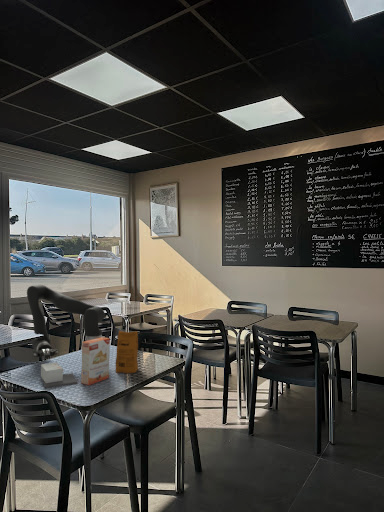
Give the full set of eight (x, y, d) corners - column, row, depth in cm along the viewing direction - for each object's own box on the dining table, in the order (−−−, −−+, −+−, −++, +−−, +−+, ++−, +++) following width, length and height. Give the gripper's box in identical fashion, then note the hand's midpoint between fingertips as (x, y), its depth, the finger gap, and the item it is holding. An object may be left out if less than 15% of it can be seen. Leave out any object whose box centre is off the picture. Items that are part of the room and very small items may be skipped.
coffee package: (118, 367, 207) (119, 329, 207) (140, 368, 206) (140, 329, 206) (112, 373, 197) (113, 332, 197) (135, 374, 196) (135, 333, 196)
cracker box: (89, 386, 177) (89, 343, 177) (80, 383, 180) (81, 341, 180) (109, 378, 189) (110, 337, 189) (101, 376, 192) (102, 336, 192)
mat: (72, 375, 193) (72, 373, 193) (77, 383, 181) (77, 381, 181) (42, 379, 187) (42, 377, 187) (44, 388, 174) (45, 386, 174)
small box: (40, 376, 188) (45, 383, 177) (40, 364, 188) (45, 370, 177) (56, 374, 192) (62, 381, 181) (57, 362, 192) (63, 368, 181)
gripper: (31, 344, 207) (34, 351, 191) (56, 341, 213) (60, 348, 197) (31, 357, 207) (33, 365, 191) (56, 354, 213) (60, 362, 197)
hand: (47, 356), depth 194 cm, fingers closed
